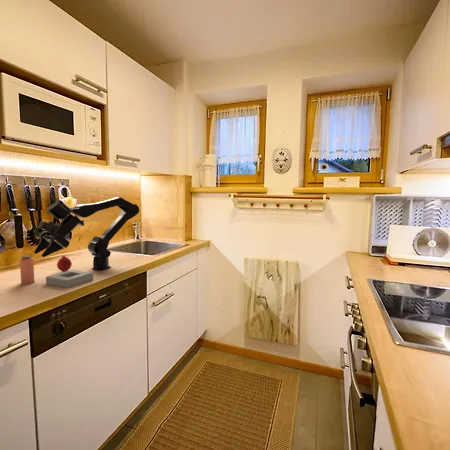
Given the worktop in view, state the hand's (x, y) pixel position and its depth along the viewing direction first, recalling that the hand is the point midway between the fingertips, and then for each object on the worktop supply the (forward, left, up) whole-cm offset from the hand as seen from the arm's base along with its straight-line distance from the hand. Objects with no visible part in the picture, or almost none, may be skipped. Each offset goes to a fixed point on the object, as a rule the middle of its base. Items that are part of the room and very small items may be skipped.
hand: (38, 254), depth 112 cm
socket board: (-4, +13, -11) cm, 17 cm away
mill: (+4, -1, -11) cm, 12 cm away
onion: (-13, -2, -11) cm, 17 cm away
